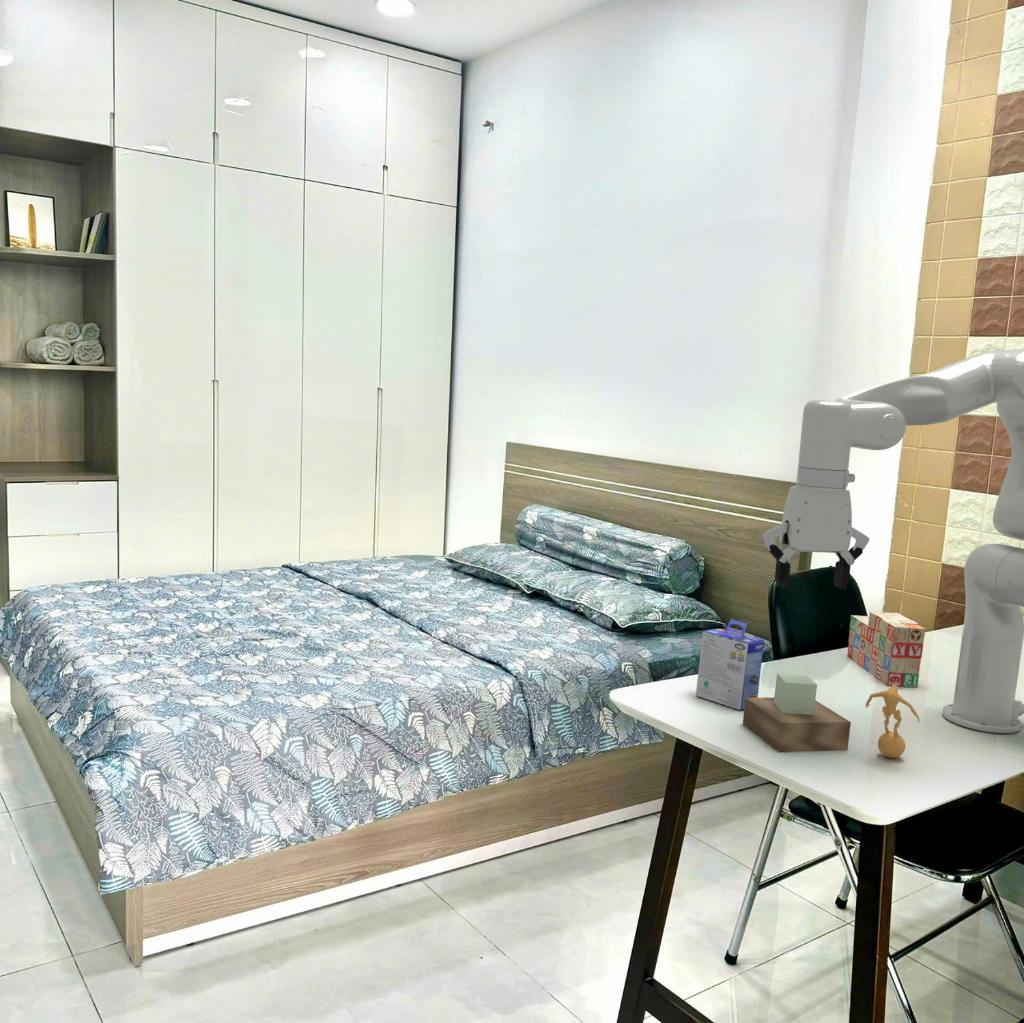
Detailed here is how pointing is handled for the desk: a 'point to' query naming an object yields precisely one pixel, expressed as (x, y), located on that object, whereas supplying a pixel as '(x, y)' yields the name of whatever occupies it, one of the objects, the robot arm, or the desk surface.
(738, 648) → the ink cartridge box
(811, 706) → the sage cube
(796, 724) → the walnut block
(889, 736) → the figurine
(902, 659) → the stack of blocks
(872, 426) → the robot arm
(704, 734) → the desk surface
